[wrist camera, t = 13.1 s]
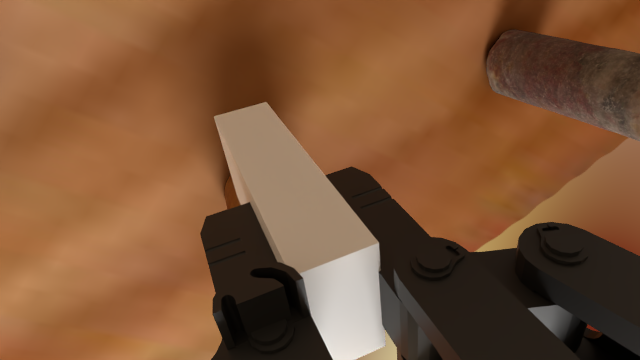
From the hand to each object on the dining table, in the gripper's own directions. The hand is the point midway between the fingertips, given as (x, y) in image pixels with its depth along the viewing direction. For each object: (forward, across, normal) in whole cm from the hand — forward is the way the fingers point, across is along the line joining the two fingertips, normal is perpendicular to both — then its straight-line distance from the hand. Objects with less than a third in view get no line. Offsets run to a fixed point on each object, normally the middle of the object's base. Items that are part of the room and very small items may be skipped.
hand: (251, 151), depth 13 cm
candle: (+29, +36, -14) cm, 48 cm away
